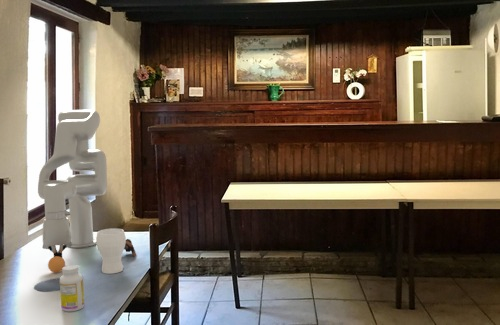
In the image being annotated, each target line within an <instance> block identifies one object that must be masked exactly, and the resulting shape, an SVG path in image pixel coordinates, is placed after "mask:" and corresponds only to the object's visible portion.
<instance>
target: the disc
mask: <svg viewBox="0 0 500 325" xmlns="http://www.w3.org/2000/svg"><path fill="white" fill-rule="evenodd" d="M60 278H61V277H60ZM60 278H59V277H58V278H57V277H56V278H50V279H45V280H41V281H40V282H38V283H36V284H35V285H34V287H33V288H34V289H35V290H36V291H39V292H56V291H57V292H58V291H60Z"/></svg>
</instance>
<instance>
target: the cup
mask: <svg viewBox="0 0 500 325" xmlns="http://www.w3.org/2000/svg"><path fill="white" fill-rule="evenodd" d="M95 239H96V244H95V245H96V248H97V251H98V252H99V254H100V256H101V259H102V260H101V261H102V266H101V273H102V274H110V275H111V274H117V273H121V272H122V271H123V270H124V266H123V262H122V257H123V256H122V255H123V252H124V250H125V249H124V248H125V244H126V239H127V237H126V234H125V230H124V229H122V228H104V229H101V230H98V231H97V234H96V237H95Z"/></svg>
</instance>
